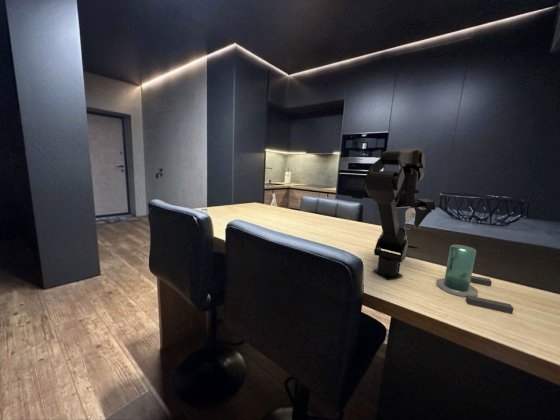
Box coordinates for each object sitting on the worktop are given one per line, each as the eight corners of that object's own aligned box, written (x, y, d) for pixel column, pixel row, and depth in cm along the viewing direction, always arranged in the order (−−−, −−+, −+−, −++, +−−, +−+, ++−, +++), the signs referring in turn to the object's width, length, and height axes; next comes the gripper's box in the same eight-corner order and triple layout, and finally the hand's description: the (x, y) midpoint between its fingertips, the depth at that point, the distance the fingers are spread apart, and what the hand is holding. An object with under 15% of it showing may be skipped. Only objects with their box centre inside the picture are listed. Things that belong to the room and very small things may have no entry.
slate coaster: (463, 300, 64) (463, 298, 64) (428, 283, 73) (428, 281, 73) (485, 293, 68) (486, 291, 68) (449, 277, 77) (450, 276, 77)
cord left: (455, 279, 76) (455, 275, 76) (453, 276, 78) (454, 272, 78) (490, 286, 72) (491, 281, 72) (488, 283, 74) (489, 278, 74)
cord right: (467, 303, 63) (468, 298, 63) (465, 300, 65) (466, 295, 64) (512, 313, 59) (513, 308, 59) (508, 309, 61) (510, 304, 61)
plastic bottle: (420, 248, 103) (427, 203, 99) (403, 247, 104) (409, 202, 100) (415, 244, 109) (421, 201, 105) (399, 242, 111) (405, 200, 107)
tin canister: (460, 293, 67) (468, 253, 64) (439, 283, 72) (445, 245, 70) (473, 289, 69) (481, 250, 67) (452, 279, 74) (458, 243, 72)
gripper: (418, 180, 89) (414, 219, 94) (370, 183, 88) (368, 223, 93) (440, 185, 78) (434, 229, 83) (385, 189, 78) (382, 234, 82)
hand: (403, 228), depth 85 cm, fingers open, 9 cm apart
